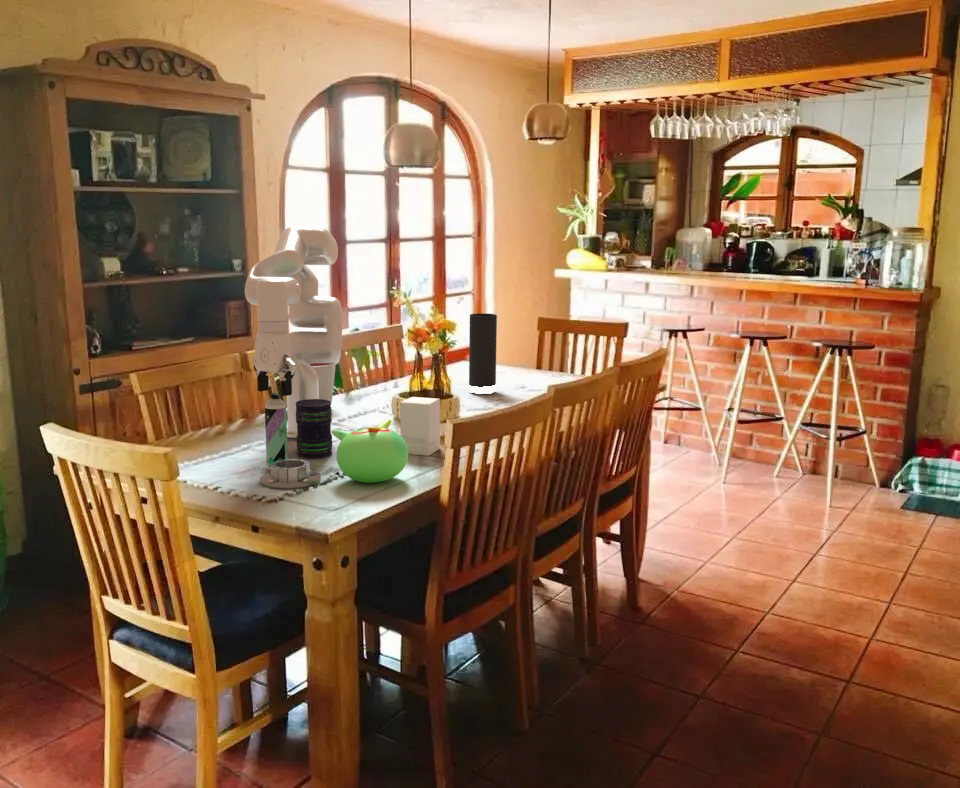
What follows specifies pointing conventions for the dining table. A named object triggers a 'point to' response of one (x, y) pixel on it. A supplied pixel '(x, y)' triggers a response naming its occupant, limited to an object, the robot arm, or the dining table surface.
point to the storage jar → (314, 428)
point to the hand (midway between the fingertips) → (274, 393)
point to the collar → (290, 475)
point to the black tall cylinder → (482, 349)
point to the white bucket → (325, 379)
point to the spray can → (275, 430)
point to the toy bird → (371, 453)
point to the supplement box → (420, 425)
